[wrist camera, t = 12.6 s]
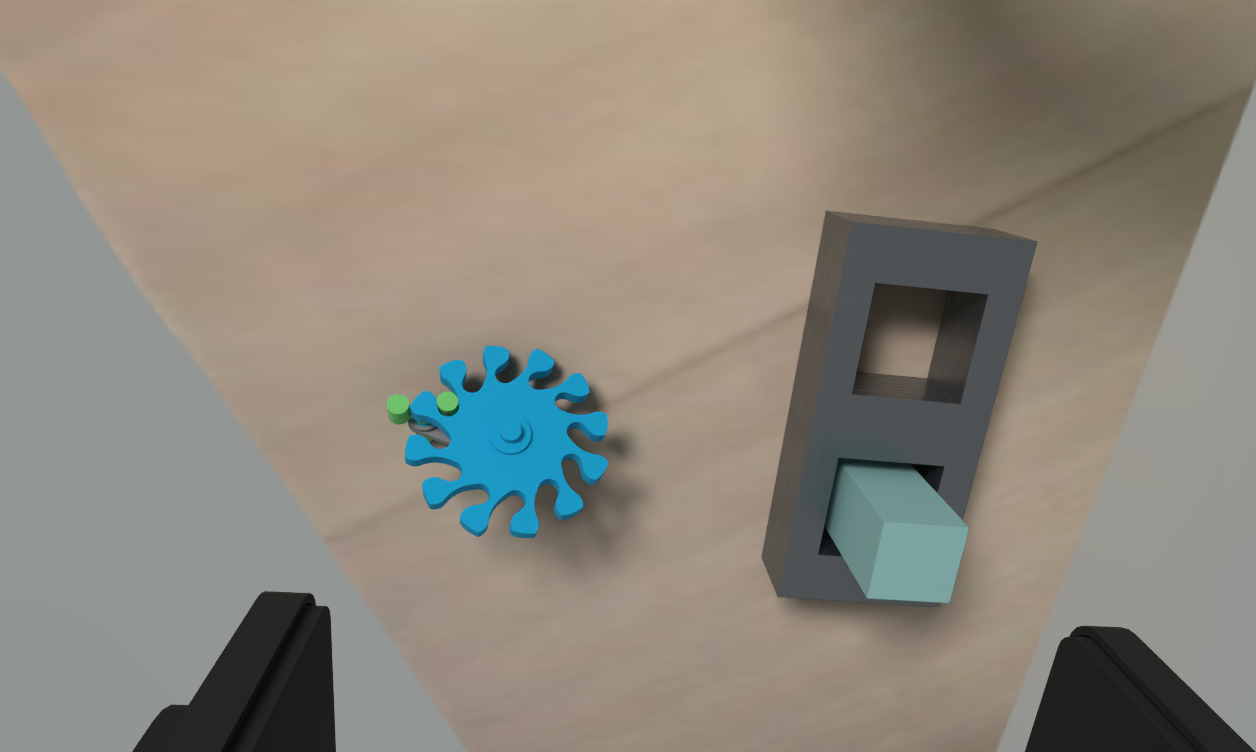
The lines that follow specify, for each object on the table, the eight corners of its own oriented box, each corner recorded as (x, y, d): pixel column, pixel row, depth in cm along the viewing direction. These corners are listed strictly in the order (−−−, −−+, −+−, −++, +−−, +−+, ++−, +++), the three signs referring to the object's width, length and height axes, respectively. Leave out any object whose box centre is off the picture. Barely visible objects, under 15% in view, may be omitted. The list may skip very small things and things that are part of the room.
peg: (826, 443, 45) (884, 521, 36) (895, 448, 45) (969, 527, 37) (813, 507, 46) (867, 598, 37) (881, 511, 46) (949, 603, 38)
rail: (826, 210, 41) (851, 221, 37) (995, 229, 41) (1037, 241, 38) (761, 557, 47) (777, 597, 43) (910, 567, 48) (938, 607, 44)
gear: (638, 380, 41) (574, 563, 36) (617, 425, 46) (558, 590, 42) (434, 303, 41) (342, 478, 36) (436, 357, 46) (356, 516, 41)
